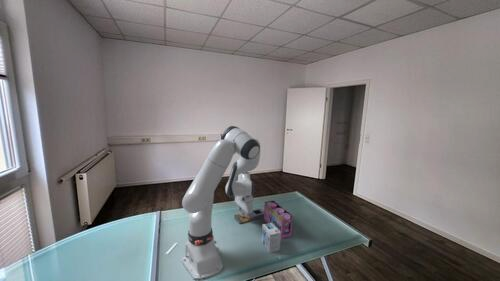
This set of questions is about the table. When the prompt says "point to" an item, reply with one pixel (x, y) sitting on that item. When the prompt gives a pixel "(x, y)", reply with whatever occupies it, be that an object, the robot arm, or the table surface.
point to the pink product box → (278, 218)
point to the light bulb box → (271, 237)
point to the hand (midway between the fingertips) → (242, 213)
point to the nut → (242, 213)
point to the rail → (250, 216)
